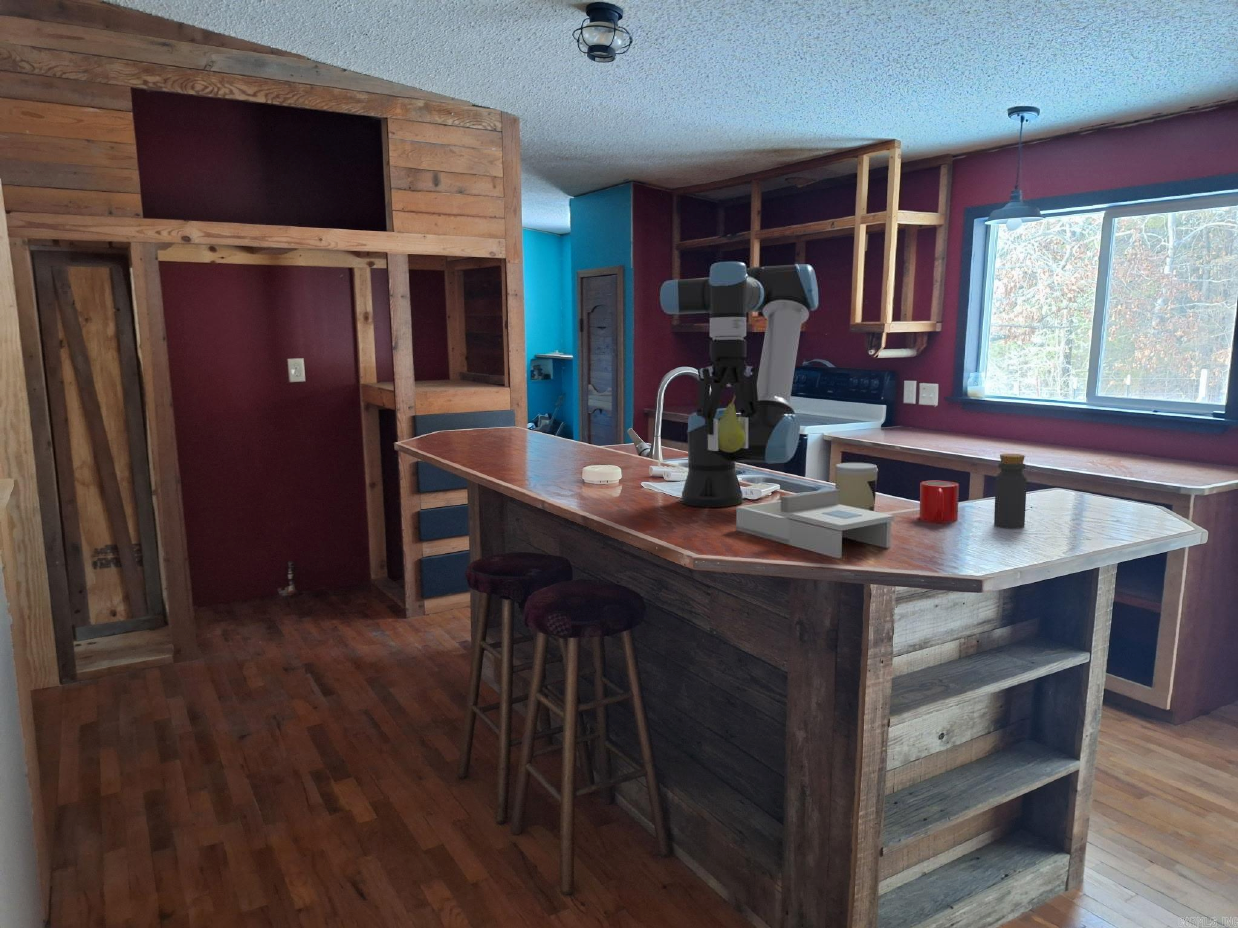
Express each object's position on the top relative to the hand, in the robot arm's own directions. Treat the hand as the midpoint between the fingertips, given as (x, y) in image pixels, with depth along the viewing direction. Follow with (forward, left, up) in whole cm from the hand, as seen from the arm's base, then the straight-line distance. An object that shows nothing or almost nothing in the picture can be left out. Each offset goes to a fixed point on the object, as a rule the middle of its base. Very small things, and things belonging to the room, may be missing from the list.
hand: (728, 448), depth 176 cm
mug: (+21, +42, -18) cm, 50 cm away
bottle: (+33, +49, -18) cm, 61 cm away
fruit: (0, 0, -1) cm, 1 cm away
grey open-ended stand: (+16, +8, -17) cm, 25 cm away
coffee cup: (+9, +29, -18) cm, 35 cm away
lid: (+23, +8, -12) cm, 27 cm away
